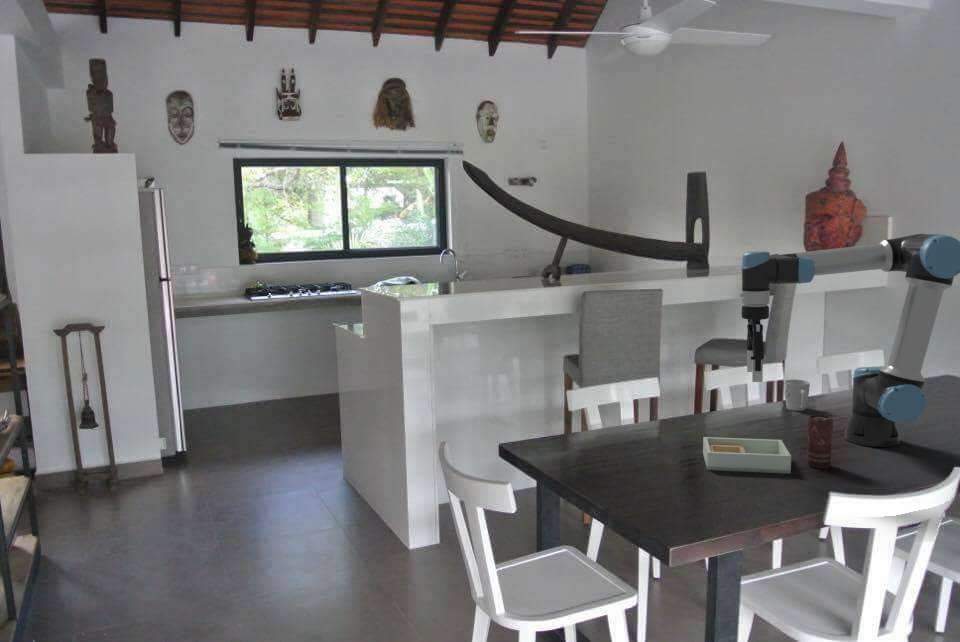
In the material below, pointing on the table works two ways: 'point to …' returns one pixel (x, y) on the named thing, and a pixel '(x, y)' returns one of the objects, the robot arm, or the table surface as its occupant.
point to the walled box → (746, 455)
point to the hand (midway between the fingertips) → (754, 376)
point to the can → (819, 441)
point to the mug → (796, 394)
